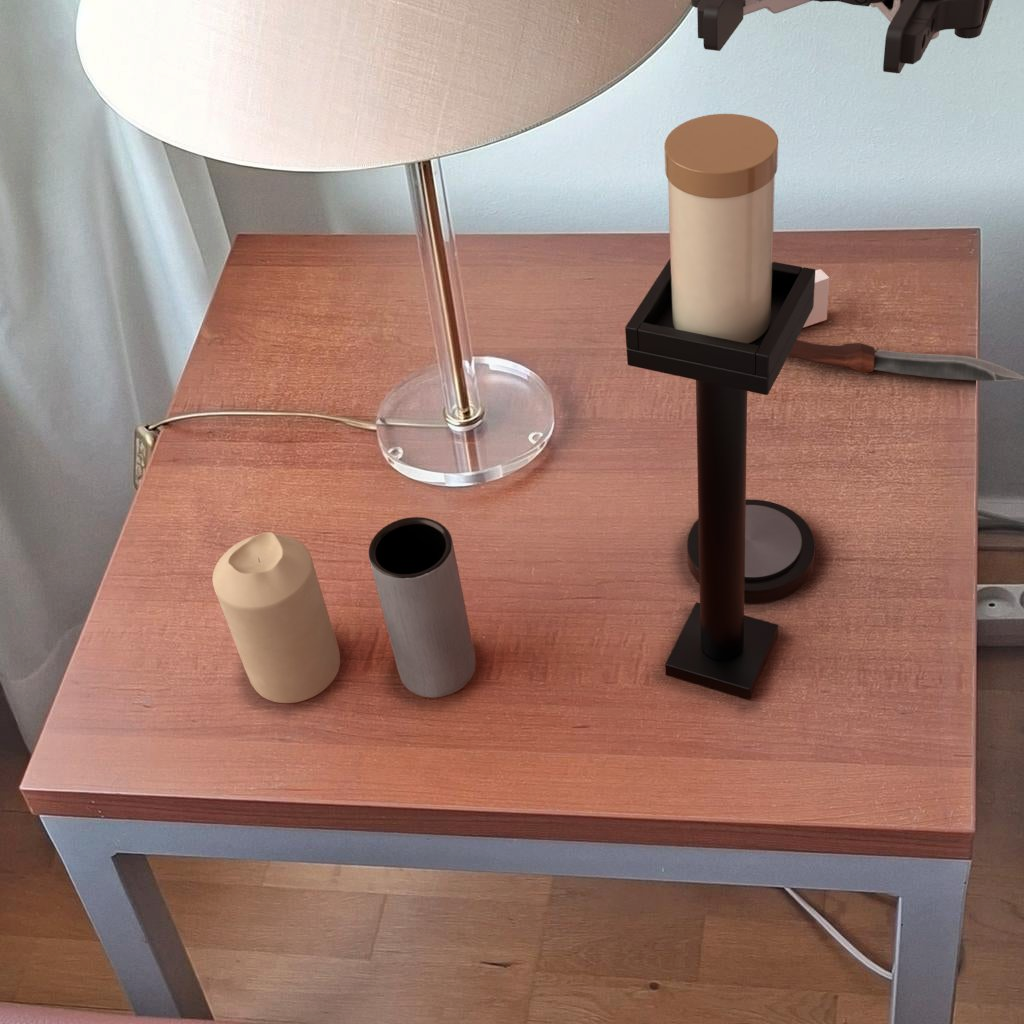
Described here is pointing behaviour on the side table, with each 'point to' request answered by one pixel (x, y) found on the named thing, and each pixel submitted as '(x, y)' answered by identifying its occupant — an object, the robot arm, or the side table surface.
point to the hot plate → (768, 551)
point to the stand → (721, 468)
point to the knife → (903, 362)
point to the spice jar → (721, 225)
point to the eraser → (819, 299)
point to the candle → (277, 617)
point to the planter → (423, 605)
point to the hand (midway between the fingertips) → (799, 42)
